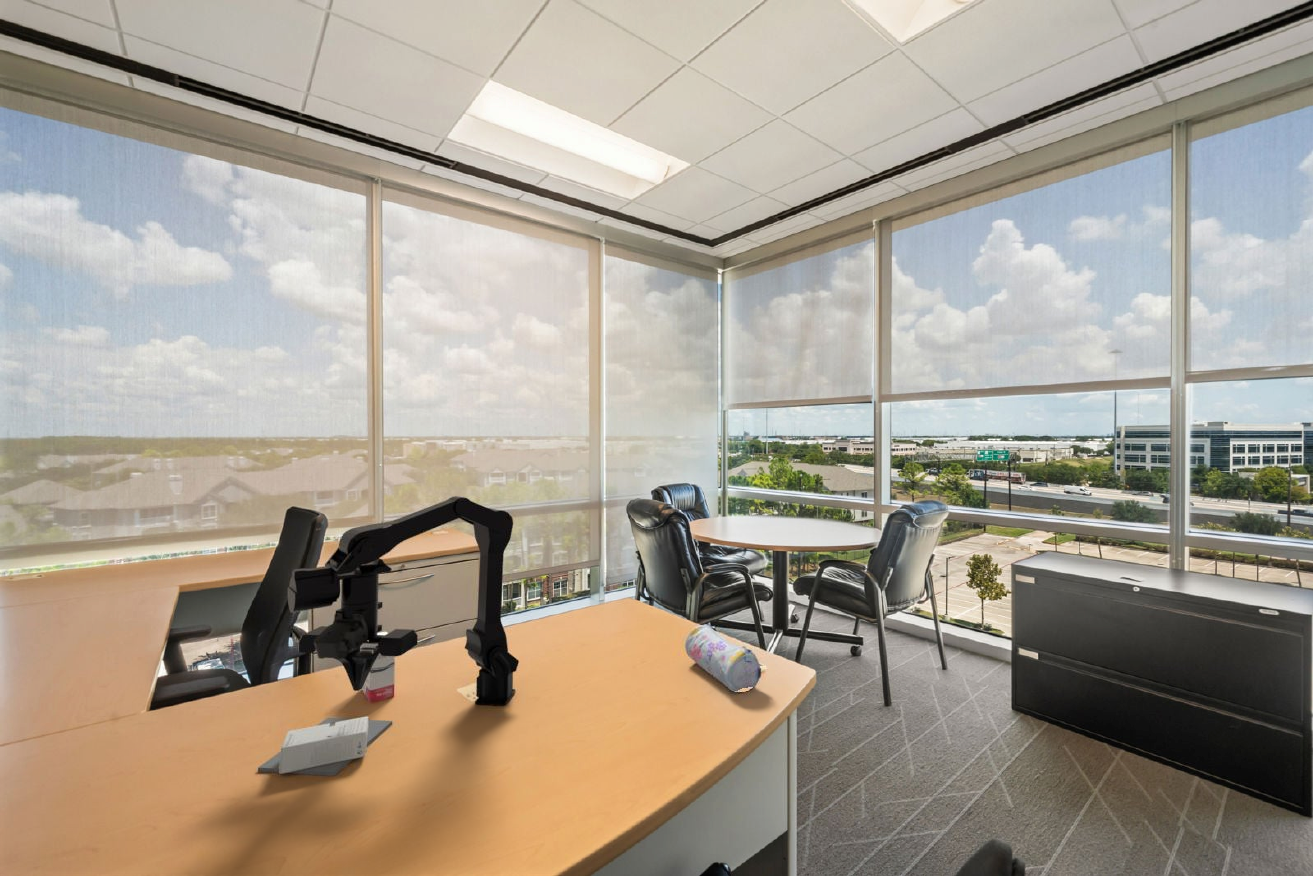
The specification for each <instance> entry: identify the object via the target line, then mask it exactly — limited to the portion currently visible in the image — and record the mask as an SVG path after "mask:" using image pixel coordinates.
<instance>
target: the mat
mask: <svg viewBox="0 0 1313 876" xmlns="http://www.w3.org/2000/svg"><path fill="white" fill-rule="evenodd" d="M350 719H351V718H341V717H340V718H339V717H326V718H325V719H324V720H322V721H321V722H319V723H318V724H317V725H316V726H318V725H323V724H329V723H334V722H340V721H345V720H350ZM391 726H393V720H383V719H382V720H381V719H380V720H379V719H368V739H367V747H368V746H369V745H371V744H372V743H373V742H374V741H375V740H376V739H378V737H380V736H381V735H382V734H383V733H385V731H386V730H388V729H389V728H390V727H391ZM280 752H281V750H280V751H279V752H278V753H276V754H275V755H273V756H272V757H270V758H269V759H268V760H266V761H265V762H264V763H262V764H261V765H259V766H258V767H257V772H261V773H263V772H264V773H279V765H280ZM353 760H354V759H350V760H345V761H340V762H335V763H331V764H326V765H321V766H316V767H311V768H307V769H302V770H297V771H292V772H288V773H287V774H293V775H294V774H295V775H296V774H297V775H298V774H299V775H312V776H313V775H315V776H327V777H328V776H329V777H335V776H336V775H337V774H338V773H339V772H340V771H341V770H342V769H344V768H345V767H346V766H347V765H348V764H349V763H350V762H352V761H353Z"/></svg>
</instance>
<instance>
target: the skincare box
mask: <svg viewBox="0 0 1313 876" xmlns="http://www.w3.org/2000/svg"><path fill="white" fill-rule="evenodd" d="M349 719H350V720H345V721H340V722H334V723H329V724H323V725H318V724H317V725H318V726H317V725H315V726H308V727H303V728H298V729H292V730H288V731H287V733H286V735H285V739H284V741H283V743H282V744H281V746H280V747H281V748H280V751H281V752H280V751H279V752H280V765H279V775H280V774H281V775H283V774H289V773H288V772H292V771H297V770H302V769H307V768H311V767H316V766H321V765H326V764H331V763H335V762H340V761H345V760H350V759H353V760H354V759H359V758H364V757H365V756H366V753H367V747H368V746H367V739H368V720H369V716H361V717H357V718H349Z"/></svg>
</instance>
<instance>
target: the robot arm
mask: <svg viewBox="0 0 1313 876" xmlns="http://www.w3.org/2000/svg"><path fill="white" fill-rule="evenodd" d="M457 519H460V520H461V521H463V522H465V523H467V524H470V525H472V526H473V531H474V533H473V534H474V539H475V541H476V544H477V547H478V549H479V571H478V574H479V575H478V592H477V593H478V595H477V613H476V614H477V616H476V617H477V618H476V621H475V623H474V625H473V627H472V628H466V630H465V631H466V632H465V635H466V642H465V646H464V649H465V650H466V651H467V655H468V656H469V657H470V658H471V659H472V660H474V661H475V664H476V666H477V667H480V669H479V670H478V676H476V687H475V689H476V692H475V696H476V697H477V699H475V701H474V704H475V705H486V706H487V705H488V706H506V705H507V703H508V702H509V701H510V700H511V699H512V697H513V696H514V694H516V691H517V690H516V689H515V688H513V687H514V673H515V672H517V670H518V665H519V663H520V660H519V659H517V658H516V657H515V656H513V654H511V653H510V652H509V647H508V638H507V634H506V632H505V628H504V626H503V623H502V603H503V602H502V599H503V598H502V597H503V575H504V554H505V551H506V548H507V547H508V545H509V543H510V542H511V538H512V533H513V528H514V520H513V519H514V518H513V516H512V515H511V514H510V513H509V512H508V511H506V510H501V509H497V508H491V507H490V508H488V507H486V506H484V505H481V504H478V503H476V502H474V501H472V500H470V499H469V498H467V497H464V496H457V495H455V496H450V497H449V498H448V499H446V500H444V501H441V502H438V503H436V504H433V505H431V506H428V507H427V506H426V507H424V508H422V509H420V510H417V511H415V512H412V513H409V514H407V515H405V516H402V517H398V518H396V519H394V520H390V521H386V522H377V523H371V524H366V525H362V526H356V527H352V528H350V529H348V530H346V531H344V532H343V534H342V535H341V537H340V539H339V541H338V542H339V543H338V547H337V548H336V550H335V551H334V552H333V554H332V555H330V557H329V558H328V560H327V561H326V562H325V563H324V566H320V567H319V566H318V567H312V568H311V567H310V568H294V569H292V571H291V578H290V581H289V586H288V587H287V603H288V609H289V612H290V613H291V614H292V613H299V612H304V611H309V610H315V609H320V608H327V607H331V606H333V604H334V603H336V602H337V601H338V599H339V598H340V597H341V598H340V608H338V609H337V610H335V613H334V617H333V622H332V623H331V624H329V625H328V626H319V627H317V628H314V629H311V630H310V631H307V632H306V633H303V634H302V635H301V637H300V638H299V640H298V643H297V647H298V649H297V651H298V653H300V654H301V653H303V654H314V653H316V655H317V657H318V659H334V660H337V661H338V662H340V663H341V665H342V666H343V668H344V670H345V671H346V674H347V677H348V679H349V682H350V684H351V687H352V690H353V691H354V692H359V691H362V687H363V685H364V683H365V681H366V679H367V676H368V674H369V672H370V670H371V668H372V666H373V664H374V662H375V660H376V658H377V657H378V655H379V653H380V654H381V655H382V656H395V657H401V656H403V655H404V654H405V653H407V652H409V651H410V650H412V649H413V648H414V647H416V646H417V645H418V633H417V632H416V631H415V629H406V628H405V629H404V628H401V629H399V628H395V629H393V630H391V631H390V632H387V633H388V634H386V635H377V633H380V632H383V624H378V623H379V622H378V621H379V619H378V618H379V610H381V609H383V601H379V577H380V576H379V574H384V573H390V572H391V571H393V570H392V569H393V568H391V567H390V566H388V564H386V563H385V561H384V560H383V559H382V557H384V556H385V555H387V554H388V553H390V552H392V550H394V549H395V548H396V547H397V546H398V545H399V544H401V543H403V542H405V541H407V540H409V539H412V538H414V537H417V536H420V535H421V534H424V533H426V532H428V531H431V530H434V529H436V528H439V527H442V526H444V525H446V524H448V523H450V522H451V523H452V522H453V521H455V520H457ZM340 595H341V596H340ZM367 640H369V641H367Z"/></svg>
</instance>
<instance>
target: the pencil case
mask: <svg viewBox="0 0 1313 876" xmlns="http://www.w3.org/2000/svg"><path fill="white" fill-rule="evenodd" d="M684 646H685V647H684V648H685V652H686V654H687V656H688V657H689V658H690V659H691V660H692V661H693V660H694V661H693V662H695V664H697V665H698V666H699V667H701V668H702V669H703V670H704V669H705V672H707V673H708V674H709V673H710V674H709V675H711V676H712V675H713V676H712V677H713V678H715V677H716V678H715V679H717V680H718V681H719V682H720V683H721V682H722V684H723V685H724V686H725V687H726V688H727V687H728V689H729V691H732V692H733V691H738V690H740V689H742V688H748V687H754V688H755V687H756V686H757V685H758V684H759V681H760V678H762V668H761V665H760V661H759V659H758V657H757V656H756V654H755V653H754V652H753V650H752V649H749V648H746V646H745V645H743V646H741V647H739V646H738V645H734V644H732V643H730V642H729V641H728V640H727V639H726V638H724V637H723V636H722V635H720V634H719V633H718V632H716V631H715V630H714V629H713V627H711V626H710V625H709V624H705V623H704V624H701V625H698V626H695V627H693V628H691V630H690V631H689V633H688V634H687V636H686V639H685V645H684Z"/></svg>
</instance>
